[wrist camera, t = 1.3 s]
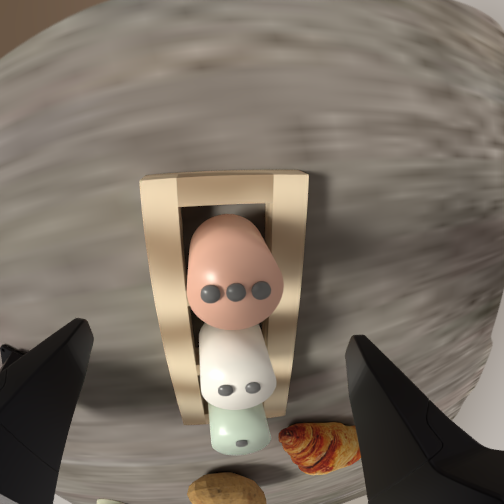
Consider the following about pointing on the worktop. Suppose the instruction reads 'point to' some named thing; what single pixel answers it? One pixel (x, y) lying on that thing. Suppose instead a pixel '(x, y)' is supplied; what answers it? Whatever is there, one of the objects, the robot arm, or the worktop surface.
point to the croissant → (321, 446)
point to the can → (108, 501)
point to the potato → (225, 490)
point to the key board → (175, 278)
